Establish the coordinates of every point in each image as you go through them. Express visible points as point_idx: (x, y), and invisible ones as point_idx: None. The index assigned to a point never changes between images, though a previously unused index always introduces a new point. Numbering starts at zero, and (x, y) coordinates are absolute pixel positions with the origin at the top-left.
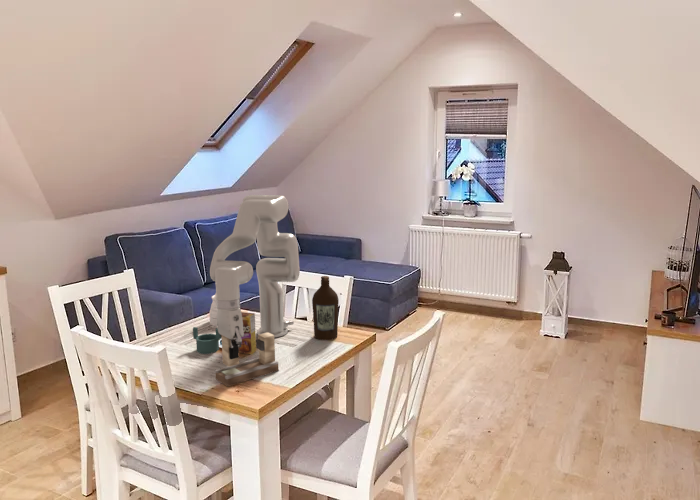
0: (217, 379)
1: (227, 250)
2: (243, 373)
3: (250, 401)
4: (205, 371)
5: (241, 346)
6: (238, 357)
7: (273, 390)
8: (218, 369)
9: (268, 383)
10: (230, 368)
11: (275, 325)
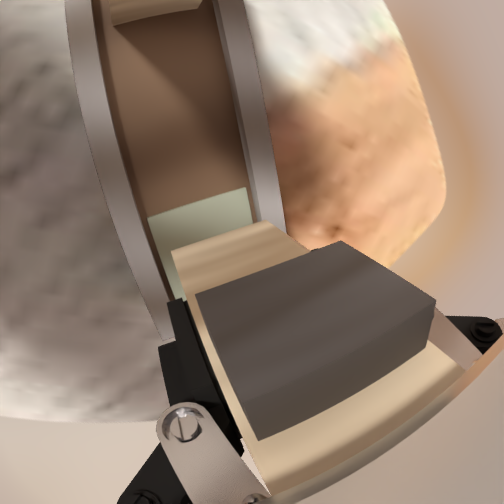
0: None
1: None
2: (275, 186)
3: (416, 209)
4: (47, 340)
5: (345, 243)
6: (292, 243)
7: (395, 98)
8: (164, 324)
9: (334, 77)
10: (151, 248)
11: None
